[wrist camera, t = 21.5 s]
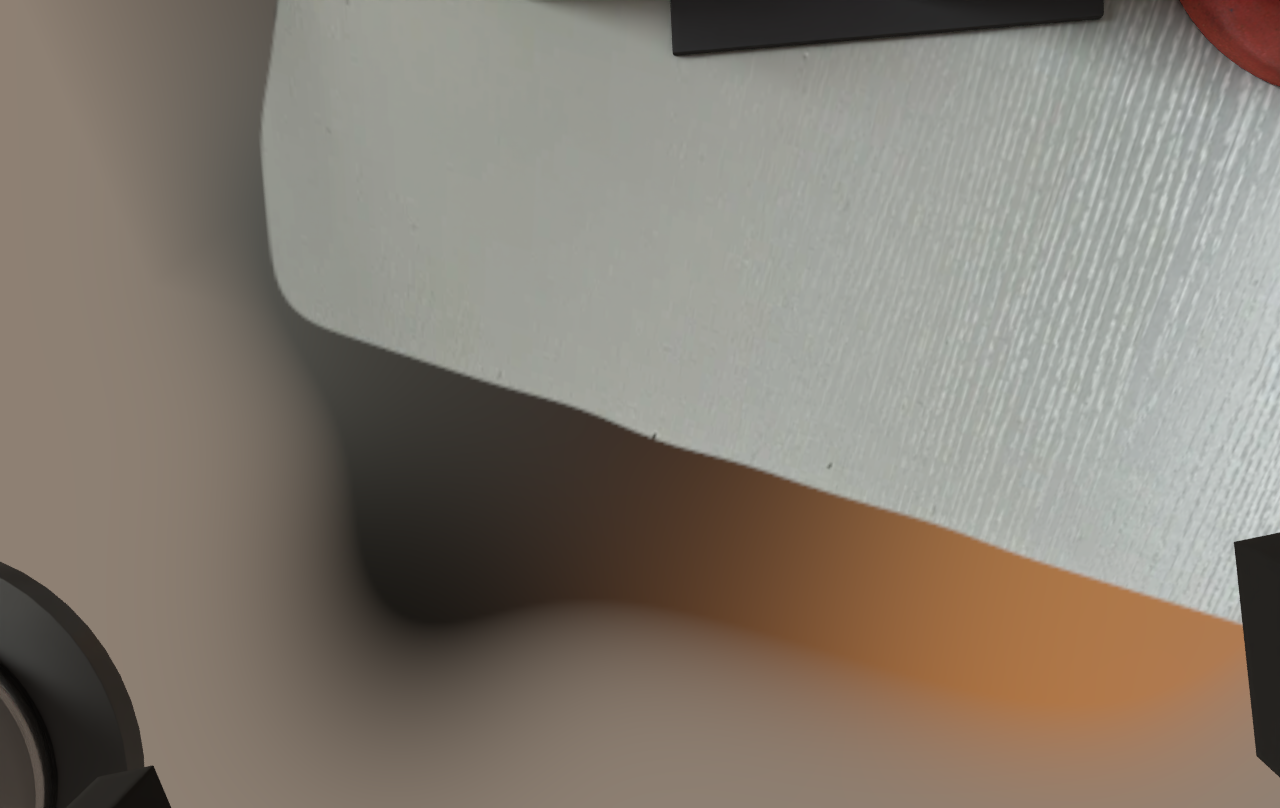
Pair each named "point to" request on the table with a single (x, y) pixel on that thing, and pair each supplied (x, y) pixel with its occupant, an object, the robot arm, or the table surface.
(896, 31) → the desk pad
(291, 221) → the table surface
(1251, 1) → the stacking bear
